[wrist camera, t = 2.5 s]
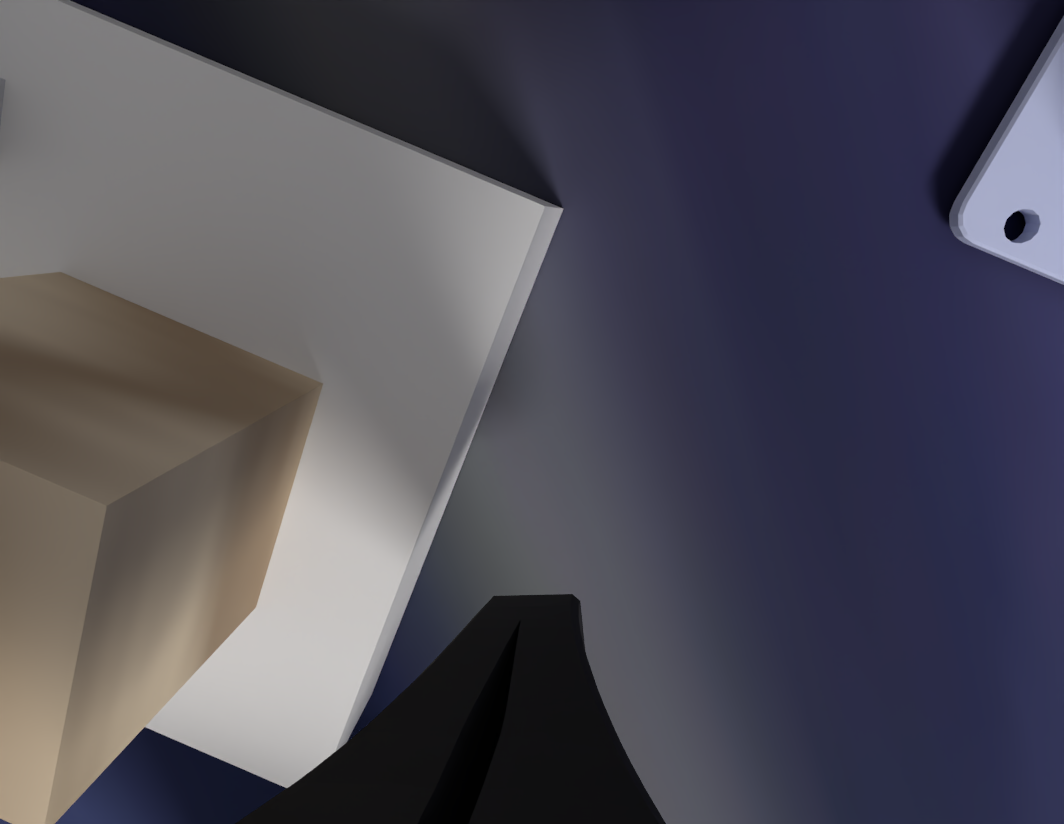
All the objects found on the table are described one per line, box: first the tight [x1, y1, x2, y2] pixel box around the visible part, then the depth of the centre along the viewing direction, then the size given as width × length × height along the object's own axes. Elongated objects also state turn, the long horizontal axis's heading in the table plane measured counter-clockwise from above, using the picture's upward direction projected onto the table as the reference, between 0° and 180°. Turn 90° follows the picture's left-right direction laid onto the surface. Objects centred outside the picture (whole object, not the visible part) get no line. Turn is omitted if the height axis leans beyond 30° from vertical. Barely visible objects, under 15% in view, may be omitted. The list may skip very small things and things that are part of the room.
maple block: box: [0, 272, 323, 824], centre depth 9 cm, size 4×4×4 cm
